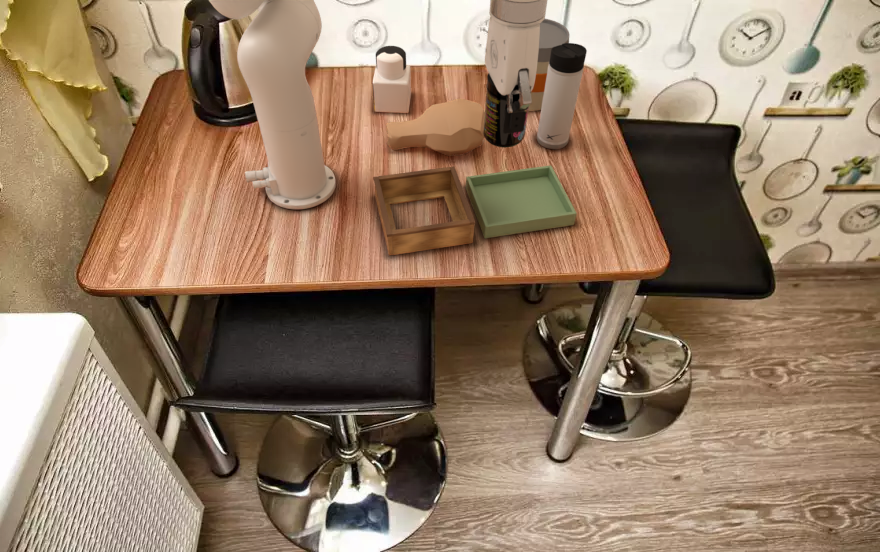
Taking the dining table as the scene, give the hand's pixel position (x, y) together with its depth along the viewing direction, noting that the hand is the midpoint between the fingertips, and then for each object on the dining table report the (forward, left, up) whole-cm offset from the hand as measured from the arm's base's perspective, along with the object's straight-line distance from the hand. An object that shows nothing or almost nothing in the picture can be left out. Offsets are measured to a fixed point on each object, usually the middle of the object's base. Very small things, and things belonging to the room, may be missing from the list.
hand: (505, 116), depth 96 cm
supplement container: (0, 0, -4) cm, 4 cm away
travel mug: (+17, +17, -20) cm, 31 cm away
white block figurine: (-12, +36, -20) cm, 43 cm away
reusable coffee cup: (+17, +32, -20) cm, 41 cm away
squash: (-6, +20, -20) cm, 29 cm away
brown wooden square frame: (-13, 0, -20) cm, 24 cm away
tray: (+4, 0, -20) cm, 20 cm away
